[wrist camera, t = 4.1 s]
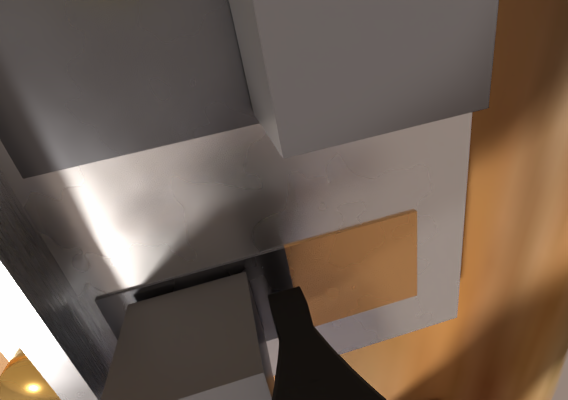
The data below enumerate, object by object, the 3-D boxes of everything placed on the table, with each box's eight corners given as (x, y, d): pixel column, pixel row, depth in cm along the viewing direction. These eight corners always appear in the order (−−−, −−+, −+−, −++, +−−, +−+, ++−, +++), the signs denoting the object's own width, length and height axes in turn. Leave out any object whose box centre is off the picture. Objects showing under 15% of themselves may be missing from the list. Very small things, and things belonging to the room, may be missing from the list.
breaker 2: (387, 83, 9) (488, 108, 6) (254, 114, 8) (283, 158, 5) (381, -60, 7) (511, -134, 4) (221, -31, 7) (236, -87, 4)
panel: (438, 297, 15) (486, 349, 12) (84, 406, 13) (56, 491, 11) (464, -356, 7) (614, -583, 4) (-428, -279, 5) (-1005, -568, 3)
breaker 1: (265, 340, 12) (289, 453, 8) (163, 371, 11) (147, 502, 8) (245, 271, 10) (264, 376, 7) (127, 304, 10) (91, 431, 7)
